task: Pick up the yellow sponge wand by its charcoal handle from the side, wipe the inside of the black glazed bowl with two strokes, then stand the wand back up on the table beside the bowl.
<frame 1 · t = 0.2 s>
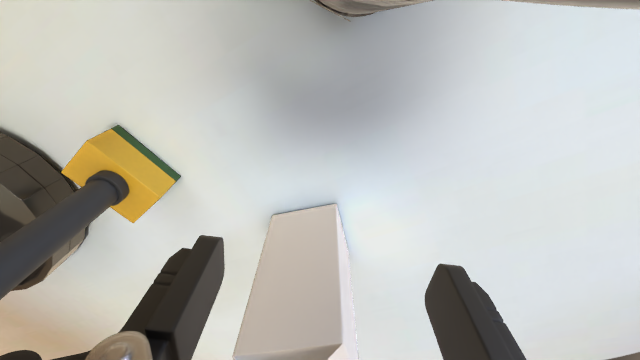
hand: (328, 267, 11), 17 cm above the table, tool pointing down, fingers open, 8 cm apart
milk carton: (311, 232, 32), on the table
bowl: (4, 197, 30), on the table
sponge wand: (138, 165, 28), on the table
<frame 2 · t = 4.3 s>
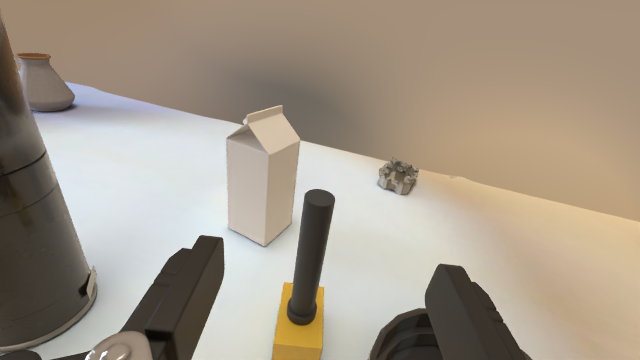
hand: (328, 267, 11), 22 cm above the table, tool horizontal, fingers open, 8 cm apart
milk carton: (260, 227, 46), on the table
sponge wand: (297, 335, 31), on the table
coffee pot: (35, 104, 77), on the table
egg carton: (395, 183, 66), on the table
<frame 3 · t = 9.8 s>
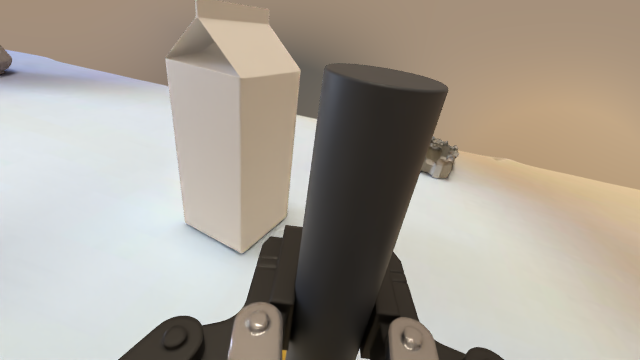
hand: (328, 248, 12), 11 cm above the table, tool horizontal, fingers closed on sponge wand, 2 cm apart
milk carton: (238, 222, 29), on the table
egg carton: (428, 164, 49), on the table
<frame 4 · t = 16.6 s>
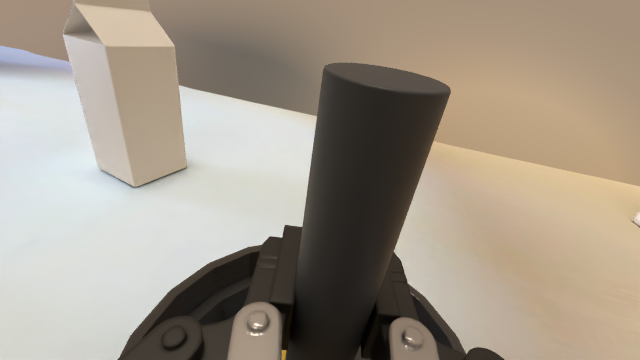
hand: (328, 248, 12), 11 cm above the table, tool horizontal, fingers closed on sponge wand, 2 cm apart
milk carton: (145, 170, 37), on the table
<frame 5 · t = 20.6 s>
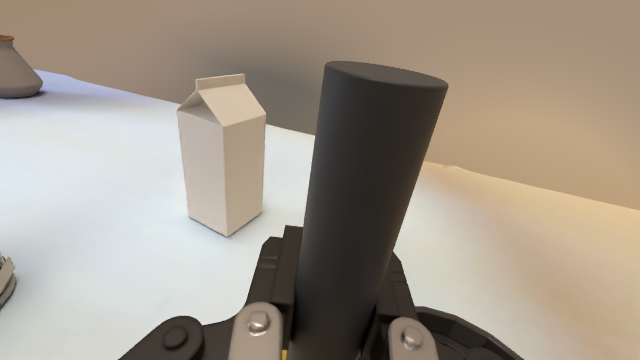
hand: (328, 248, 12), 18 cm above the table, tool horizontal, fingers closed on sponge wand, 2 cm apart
milk carton: (226, 216, 41), on the table
coffee pot: (0, 90, 72), on the table
when the fingers open (11 cm above the table, at t = 23.5 s): sponge wand stays where it is, on the table.
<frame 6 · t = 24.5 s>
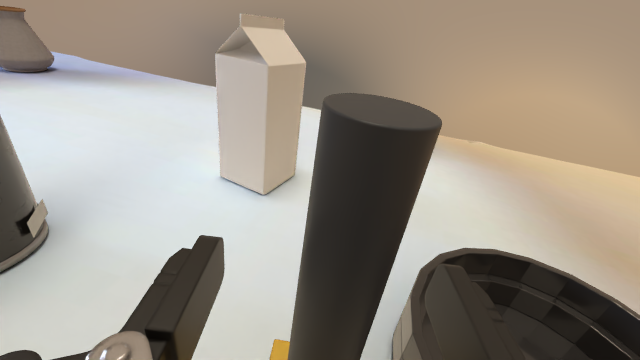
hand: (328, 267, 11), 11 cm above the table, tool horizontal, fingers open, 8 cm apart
milk carton: (259, 177, 39), on the table
coffee pot: (10, 66, 70), on the table
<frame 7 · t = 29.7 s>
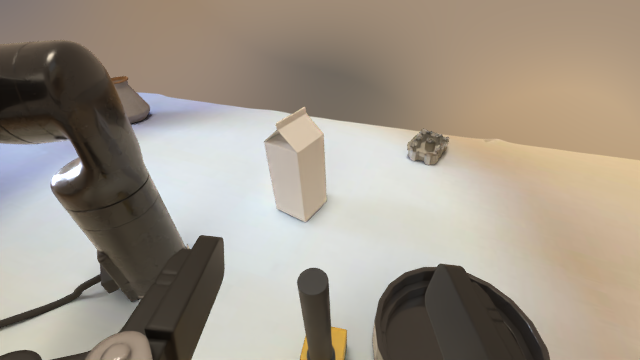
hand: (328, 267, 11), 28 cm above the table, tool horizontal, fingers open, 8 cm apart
milk carton: (302, 206, 56), on the table
bowl: (446, 354, 34), on the table
coffee pot: (124, 117, 97), on the table
egg carton: (426, 153, 69), on the table
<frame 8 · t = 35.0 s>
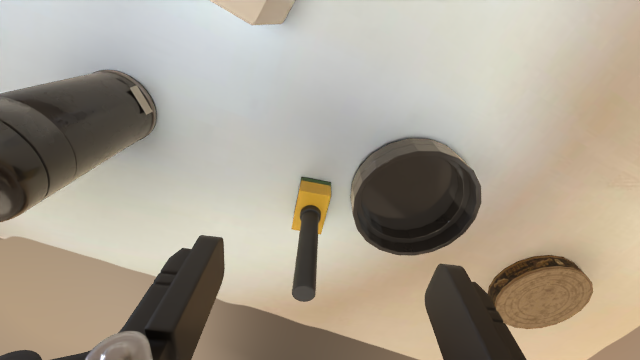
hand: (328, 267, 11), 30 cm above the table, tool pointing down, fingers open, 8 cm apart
wood slice: (531, 286, 54), on the table
bowl: (407, 190, 44), on the table
sponge wand: (311, 198, 45), on the table
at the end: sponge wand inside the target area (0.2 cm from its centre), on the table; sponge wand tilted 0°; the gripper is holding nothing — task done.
